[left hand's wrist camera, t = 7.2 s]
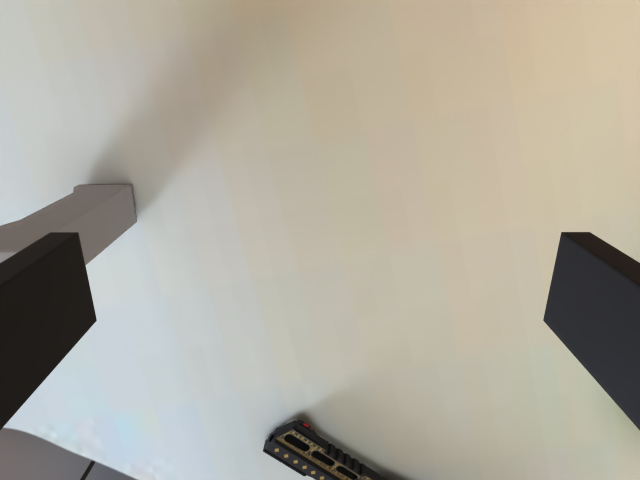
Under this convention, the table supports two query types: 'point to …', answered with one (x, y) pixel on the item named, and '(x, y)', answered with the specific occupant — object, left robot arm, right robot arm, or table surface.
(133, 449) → the table surface
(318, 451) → the decorative firearm
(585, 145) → the table surface
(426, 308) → the table surface
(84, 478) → the right robot arm
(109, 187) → the vintage mobile phone
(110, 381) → the table surface
